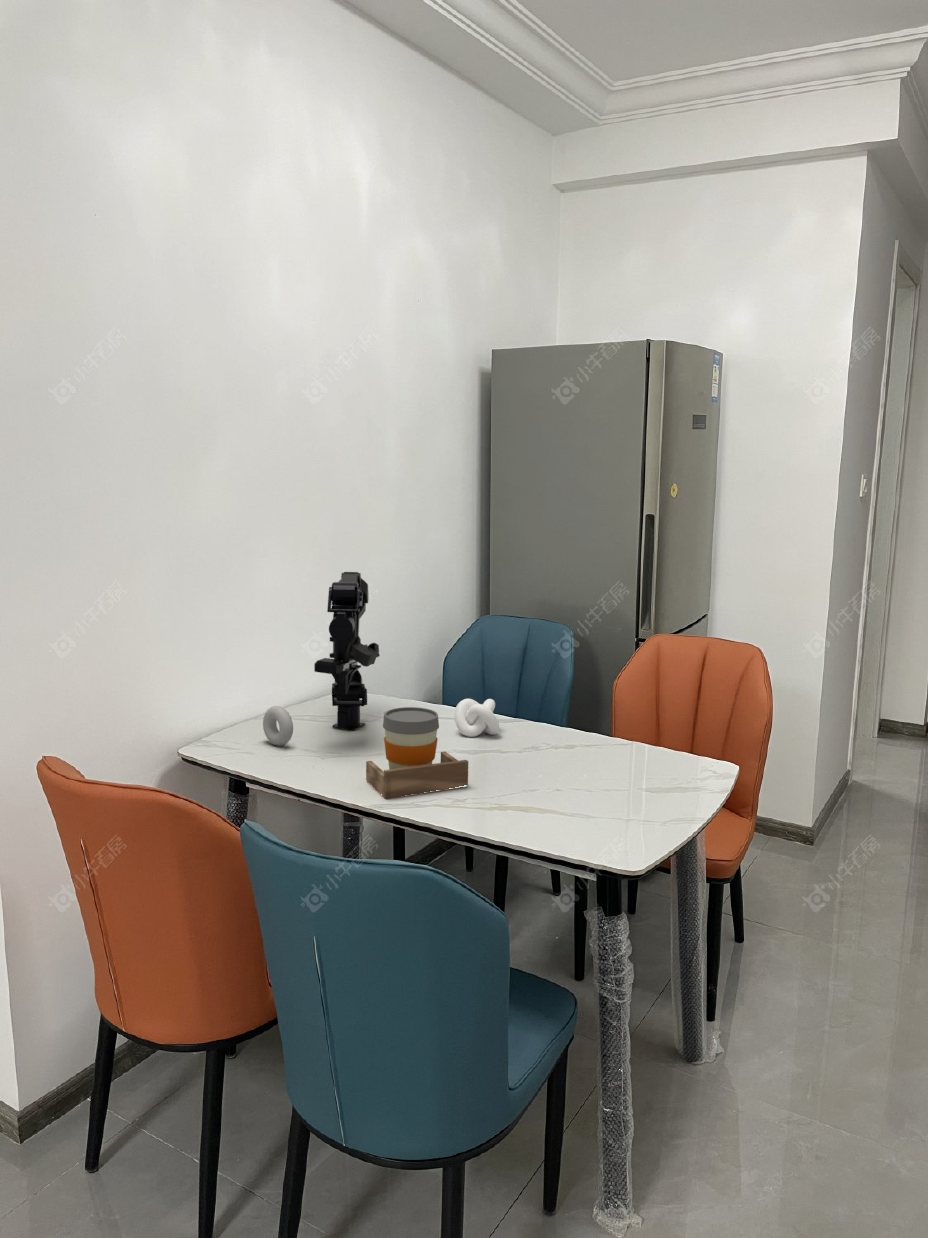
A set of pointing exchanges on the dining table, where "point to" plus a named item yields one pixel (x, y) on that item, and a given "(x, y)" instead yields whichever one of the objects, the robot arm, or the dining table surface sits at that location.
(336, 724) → the robot arm
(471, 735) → the white knot
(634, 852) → the dining table surface
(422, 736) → the reusable coffee cup
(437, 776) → the holder
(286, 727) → the donut
